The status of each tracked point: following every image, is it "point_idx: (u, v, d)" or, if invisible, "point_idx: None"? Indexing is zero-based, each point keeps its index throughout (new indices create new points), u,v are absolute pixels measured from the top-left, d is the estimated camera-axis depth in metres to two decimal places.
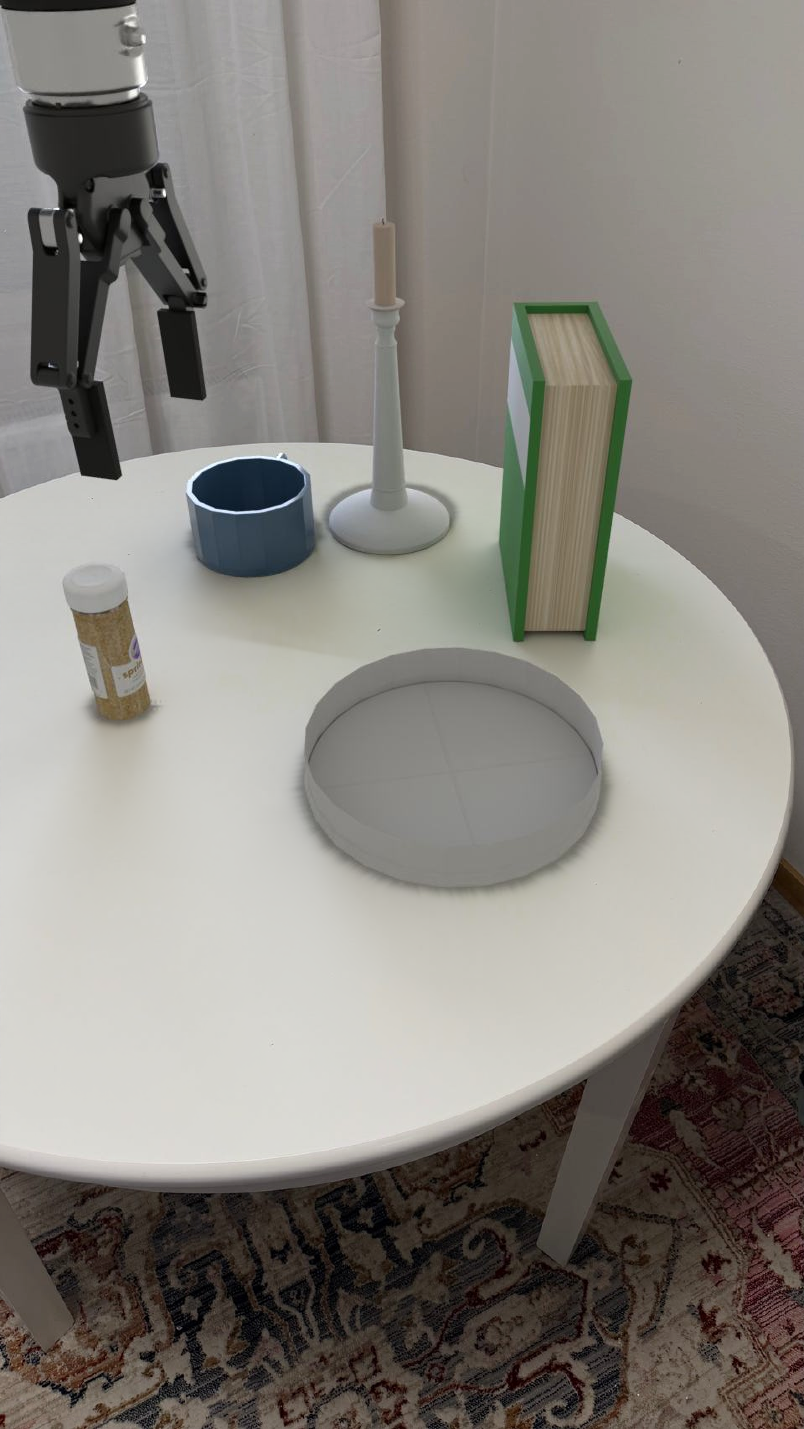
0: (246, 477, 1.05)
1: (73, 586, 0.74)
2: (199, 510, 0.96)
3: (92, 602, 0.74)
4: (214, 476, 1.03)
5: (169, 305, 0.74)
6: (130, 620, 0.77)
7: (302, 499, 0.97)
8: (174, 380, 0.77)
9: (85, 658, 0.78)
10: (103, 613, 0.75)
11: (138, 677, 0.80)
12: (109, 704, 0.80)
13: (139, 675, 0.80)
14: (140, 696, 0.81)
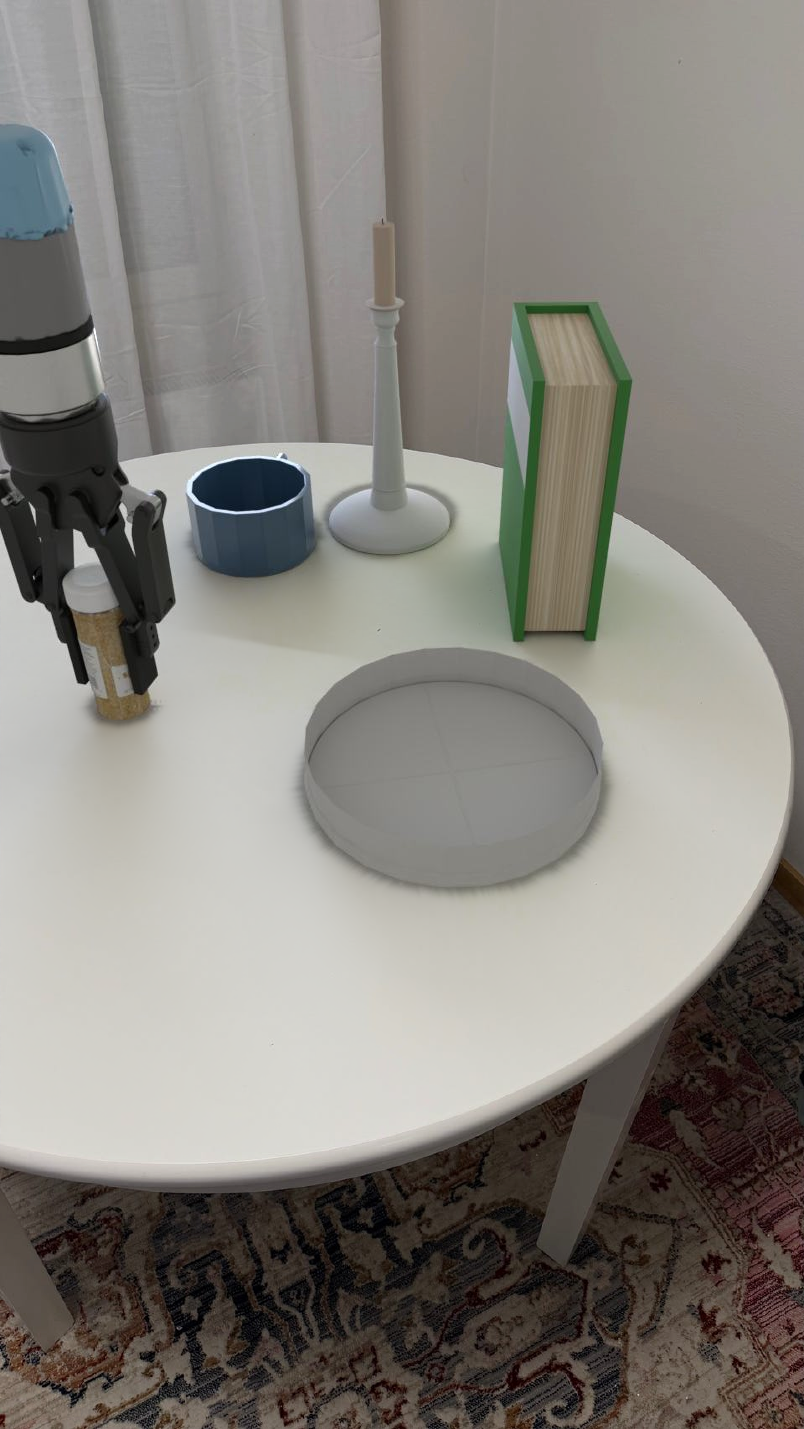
0: (246, 477, 1.05)
1: (73, 586, 0.74)
2: (199, 510, 0.96)
3: (92, 602, 0.74)
4: (214, 476, 1.03)
5: (63, 608, 0.77)
6: None
7: (302, 499, 0.97)
8: (85, 667, 0.80)
9: (85, 658, 0.78)
10: (103, 613, 0.75)
11: None
12: (108, 704, 0.80)
13: None
14: (139, 696, 0.81)
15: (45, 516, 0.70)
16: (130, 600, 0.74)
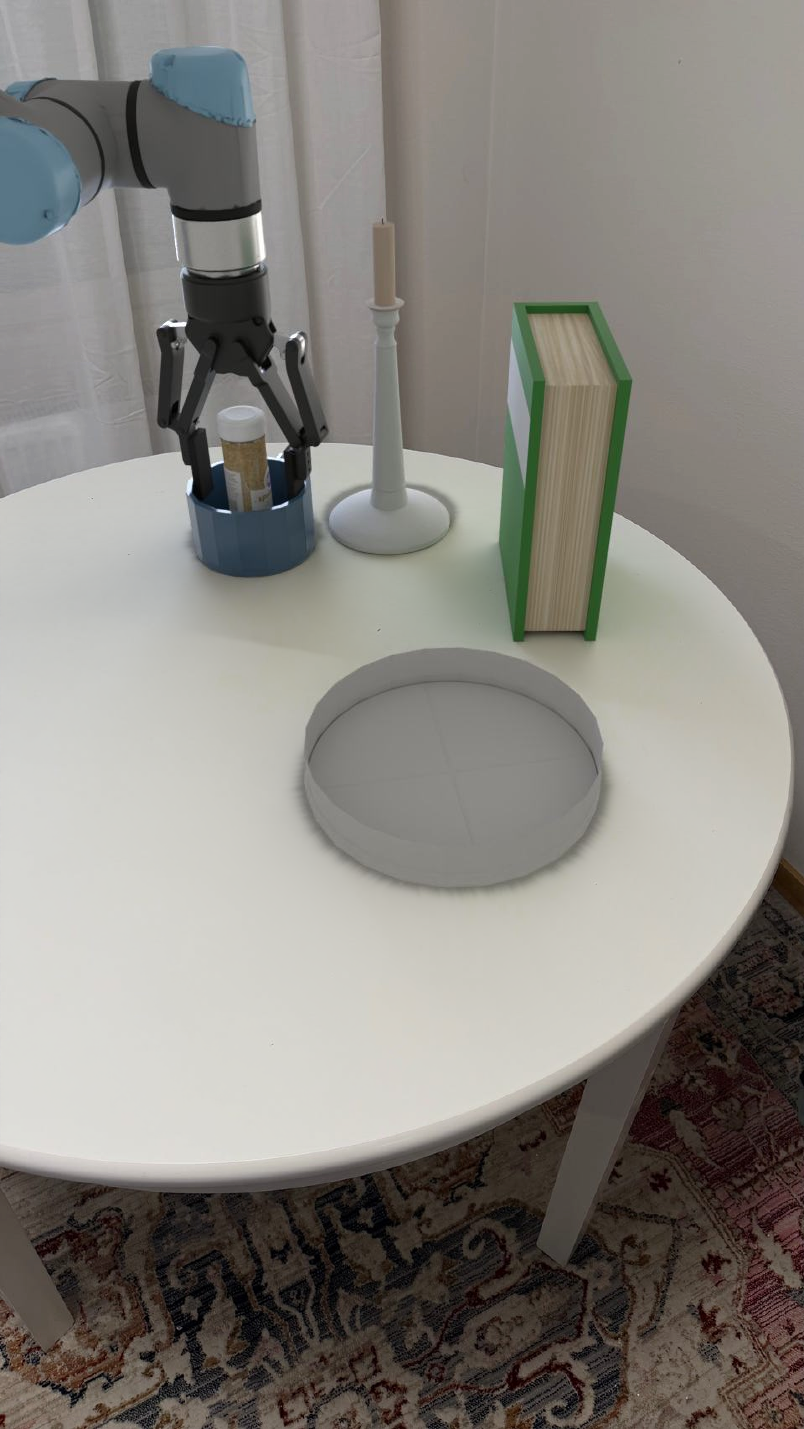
0: None
1: (226, 420, 0.94)
2: (199, 510, 0.96)
3: (241, 432, 0.94)
4: (214, 476, 1.03)
5: (189, 433, 0.97)
6: (266, 453, 0.97)
7: (302, 499, 0.97)
8: (203, 486, 1.00)
9: (229, 484, 0.98)
10: (248, 443, 0.95)
11: (269, 503, 1.00)
12: None
13: (269, 501, 1.00)
14: None
15: (207, 360, 0.90)
16: (291, 426, 0.93)
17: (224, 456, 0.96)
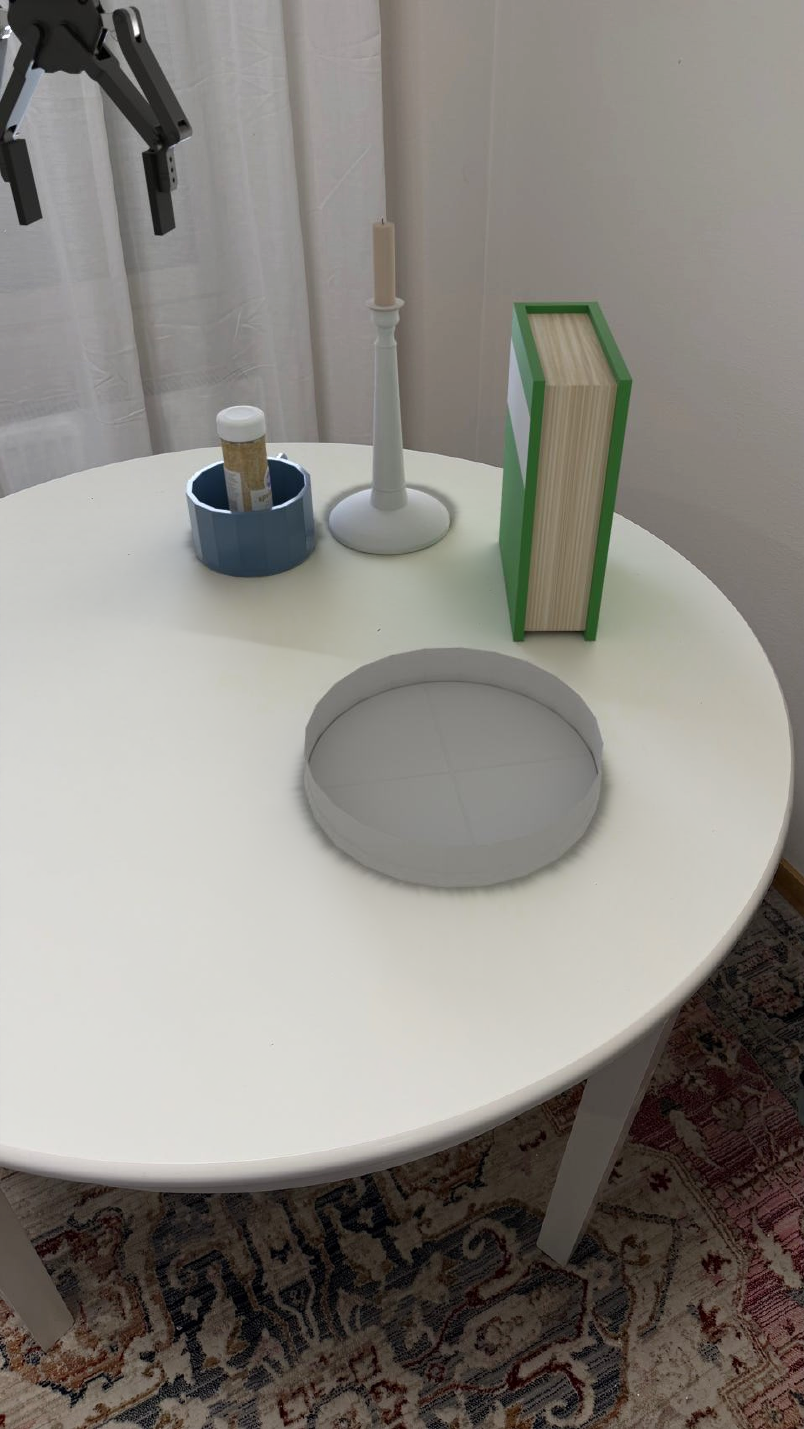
0: None
1: (226, 420, 0.94)
2: (199, 510, 0.96)
3: (241, 432, 0.94)
4: (214, 476, 1.03)
5: (4, 139, 0.88)
6: (266, 453, 0.97)
7: (302, 499, 0.97)
8: (26, 207, 0.91)
9: (229, 484, 0.98)
10: (248, 443, 0.95)
11: (269, 503, 1.00)
12: None
13: (269, 501, 1.00)
14: None
15: (29, 51, 0.82)
16: (143, 121, 0.83)
17: (224, 456, 0.96)
